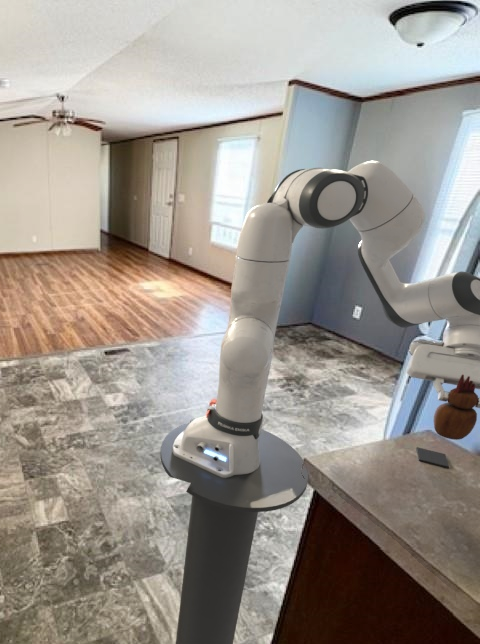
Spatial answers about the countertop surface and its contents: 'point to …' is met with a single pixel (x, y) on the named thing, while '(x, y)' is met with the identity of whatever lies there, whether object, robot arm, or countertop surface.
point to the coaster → (432, 457)
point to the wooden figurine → (457, 412)
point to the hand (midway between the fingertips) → (461, 403)
